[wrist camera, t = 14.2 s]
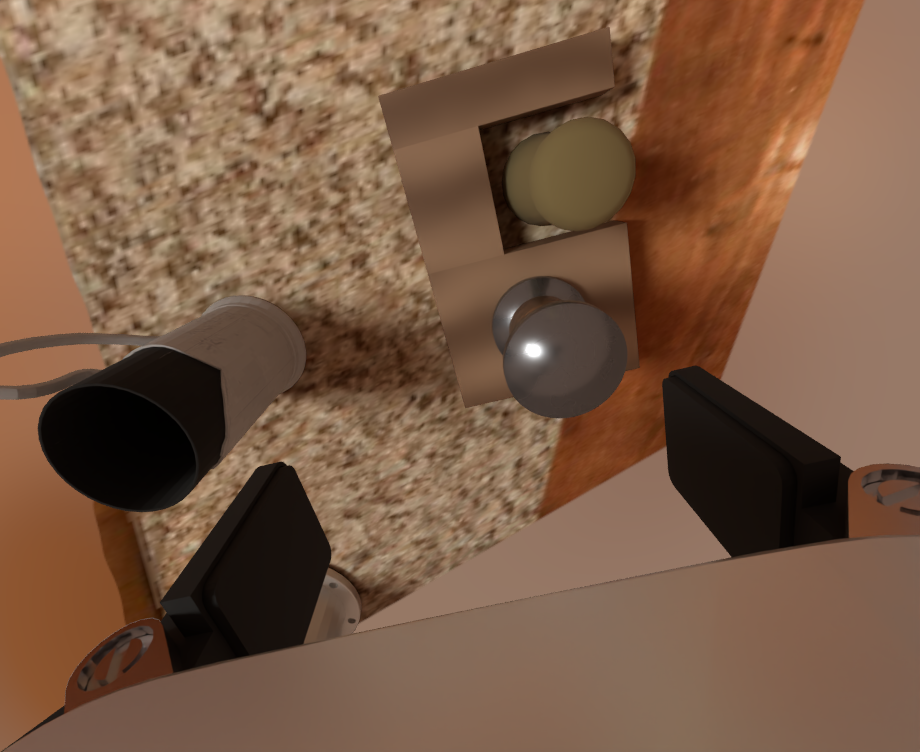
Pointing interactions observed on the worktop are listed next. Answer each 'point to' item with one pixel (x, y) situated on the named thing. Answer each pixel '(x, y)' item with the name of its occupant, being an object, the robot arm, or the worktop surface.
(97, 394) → the glass holder
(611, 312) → the notched board
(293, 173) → the worktop surface
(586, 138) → the cork
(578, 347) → the bobbin
